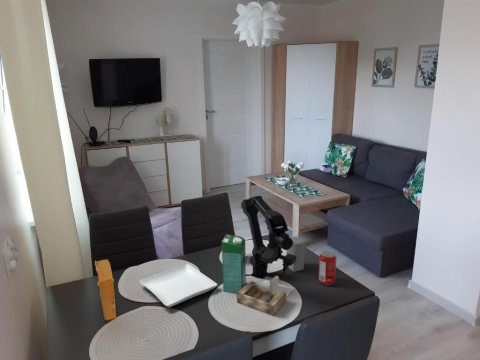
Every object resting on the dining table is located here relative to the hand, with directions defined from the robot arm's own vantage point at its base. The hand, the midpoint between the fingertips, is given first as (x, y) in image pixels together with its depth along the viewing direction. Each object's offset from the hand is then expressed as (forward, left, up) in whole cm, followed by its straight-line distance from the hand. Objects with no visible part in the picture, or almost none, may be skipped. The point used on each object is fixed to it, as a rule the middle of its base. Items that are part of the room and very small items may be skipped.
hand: (275, 272), depth 173 cm
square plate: (-39, -23, -10) cm, 46 cm away
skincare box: (-1, +24, -9) cm, 26 cm away
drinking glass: (-32, +15, -9) cm, 37 cm away
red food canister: (+18, +19, -9) cm, 28 cm away
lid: (0, 0, -9) cm, 9 cm away
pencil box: (0, -12, -9) cm, 15 cm away
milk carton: (-17, -8, -9) cm, 21 cm away
